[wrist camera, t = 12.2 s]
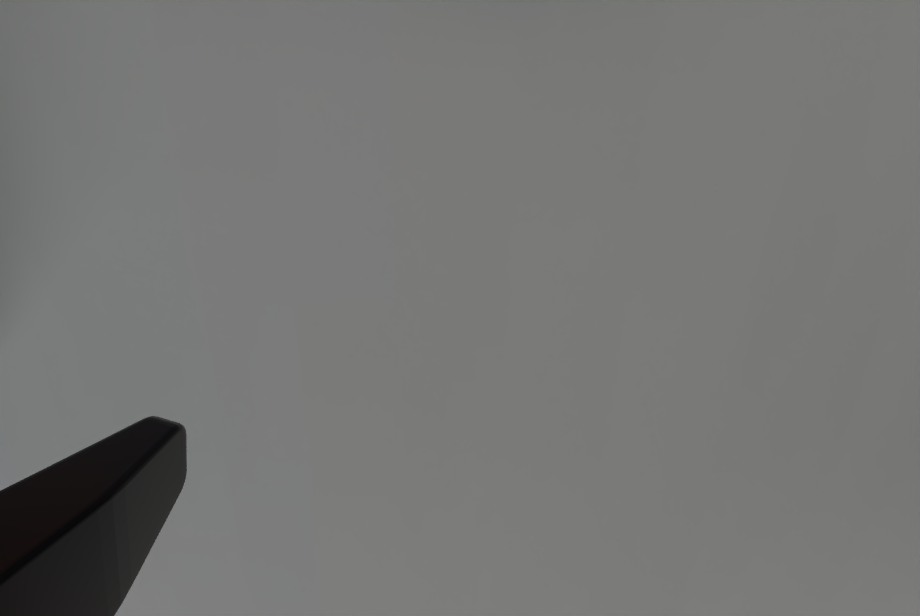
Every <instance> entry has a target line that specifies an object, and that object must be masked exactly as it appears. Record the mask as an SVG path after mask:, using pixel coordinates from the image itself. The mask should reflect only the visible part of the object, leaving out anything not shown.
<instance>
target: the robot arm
mask: <svg viewBox="0 0 920 616" xmlns="http://www.w3.org/2000/svg"><path fill="white" fill-rule="evenodd" d="M186 472H187V458H186V430H185V428H184V426H183V425H181V424H180V423H177V422H174V421H170V420H167V419H164V418H160V417H156V416H151V417H147V418H144V419H142V420H140V421H138V422H136V423H134V424H132V425H130V426H128V427H126V428H124V429H122V430H120V431H118V432H117V433H115V434H113V435H111V436H109V437H107V438H105V439H103V440H101V441H99V442H97V443H95V444H93V445H91V446H89V447H87V448H85V449H83V450H81V451H79V452H77V453H75V454H73V455H71V456H69V457H67V458H65V459H63V460H61V461H59V462H57V463H55V464H53V465H51V466H49V467H47V468H45V469H43V470H41V471H39V472H37V473H35V474H33V475H31V476H29V477H27V478H25V479H23V480H21V481H19V482H17V483H15V484H13V485H11V486H9V487H7V488H5V489H3V490H1V491H0V616H114V615H115V613H116V612H117V610H118V609H119V607H120V606H121V604H122V602H123V600H124V599H125V597H126V595H127V593H128V591H129V590H130V588H131V586H132V584H133V582H134V580H135V578H136V576H137V575H138V573H139V571H140V569H141V567H142V565H143V563H144V561H145V559H146V557H147V555H148V554H149V552H150V550H151V548H152V546H153V544H154V542H155V540H156V538H157V536H158V534H159V533H160V531H161V529H162V527H163V525H164V523H165V521H166V519H167V517H168V515H169V513H170V512H171V510H172V508H173V506H174V504H175V502H176V500H177V498H178V496H179V494H180V492H181V490H182V488H183V485H184V482H185V479H186Z"/></svg>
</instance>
